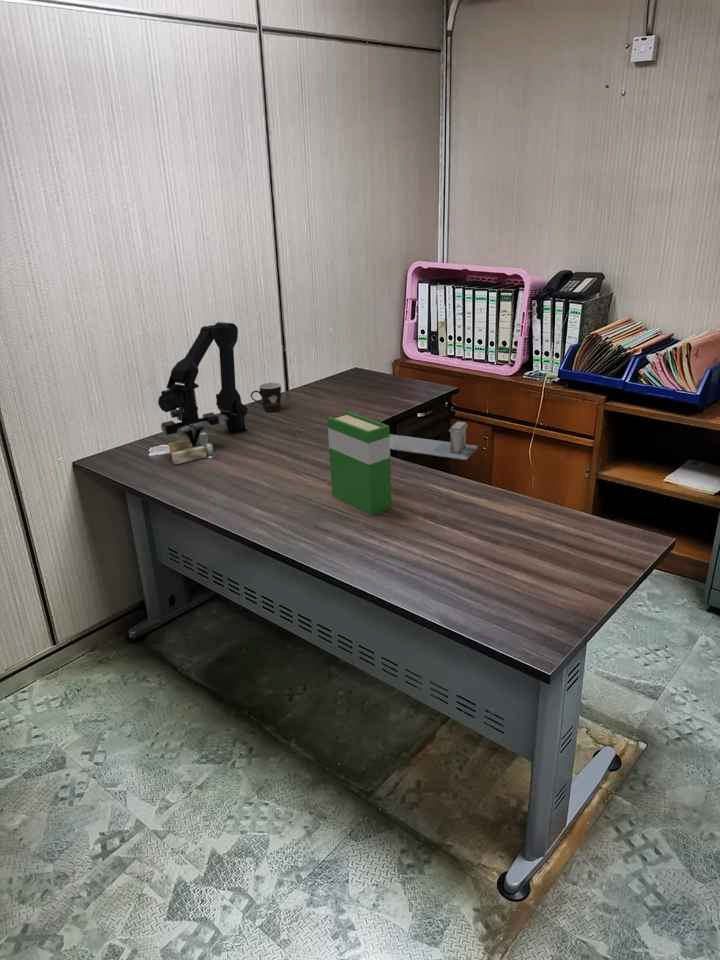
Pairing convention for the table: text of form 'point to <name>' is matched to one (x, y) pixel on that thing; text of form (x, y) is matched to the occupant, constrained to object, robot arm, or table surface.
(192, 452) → the gate rail
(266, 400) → the coffee mug
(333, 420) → the hardback book
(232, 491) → the table surface
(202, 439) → the post
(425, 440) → the slab with upright peg
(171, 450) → the oak block
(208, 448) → the metal door knob
